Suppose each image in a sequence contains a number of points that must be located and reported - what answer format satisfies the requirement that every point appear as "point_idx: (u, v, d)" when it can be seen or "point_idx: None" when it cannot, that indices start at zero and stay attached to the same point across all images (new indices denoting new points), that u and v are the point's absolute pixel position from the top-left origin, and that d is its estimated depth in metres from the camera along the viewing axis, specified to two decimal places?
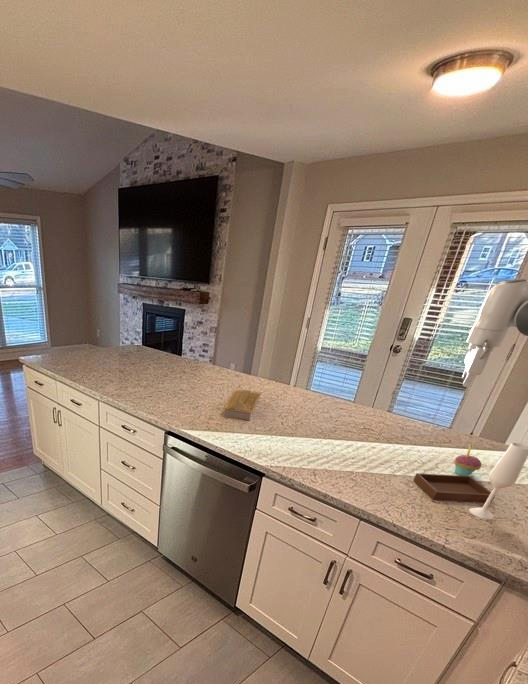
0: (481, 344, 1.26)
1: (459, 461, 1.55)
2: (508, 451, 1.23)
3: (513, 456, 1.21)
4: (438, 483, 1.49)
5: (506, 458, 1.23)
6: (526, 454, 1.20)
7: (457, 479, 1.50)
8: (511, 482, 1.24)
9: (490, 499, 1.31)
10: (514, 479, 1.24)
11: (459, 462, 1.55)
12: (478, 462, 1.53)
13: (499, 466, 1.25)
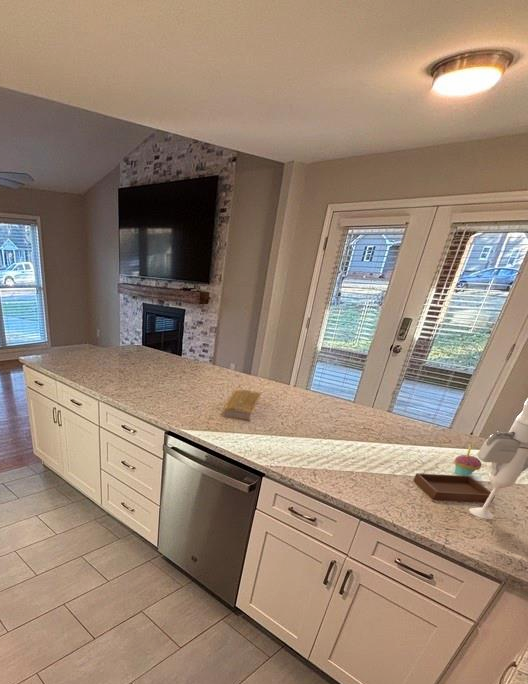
0: None
1: (459, 461, 1.55)
2: None
3: None
4: (438, 483, 1.49)
5: None
6: (526, 454, 1.20)
7: (457, 479, 1.50)
8: (511, 482, 1.24)
9: (490, 499, 1.31)
10: (514, 479, 1.24)
11: (459, 462, 1.55)
12: (478, 462, 1.53)
13: None
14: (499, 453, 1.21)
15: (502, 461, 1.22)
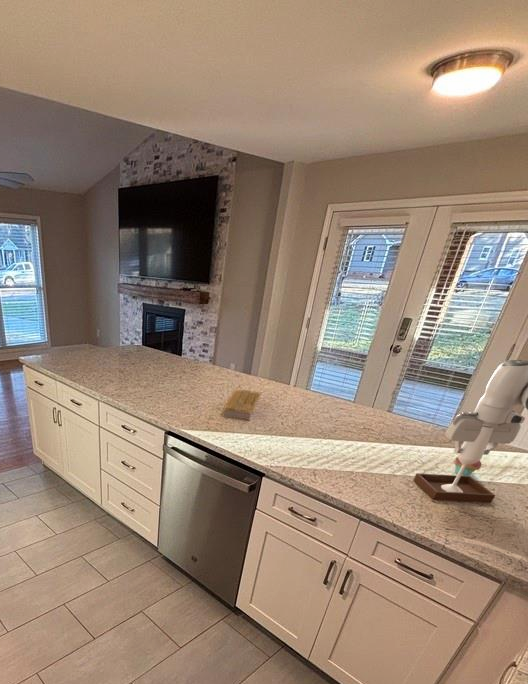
0: None
1: (459, 461, 1.55)
2: None
3: None
4: (438, 483, 1.49)
5: None
6: (489, 432, 1.31)
7: None
8: (477, 459, 1.36)
9: (459, 475, 1.42)
10: (479, 456, 1.35)
11: (459, 462, 1.55)
12: (478, 462, 1.53)
13: (465, 444, 1.36)
14: (464, 432, 1.32)
15: (467, 439, 1.34)
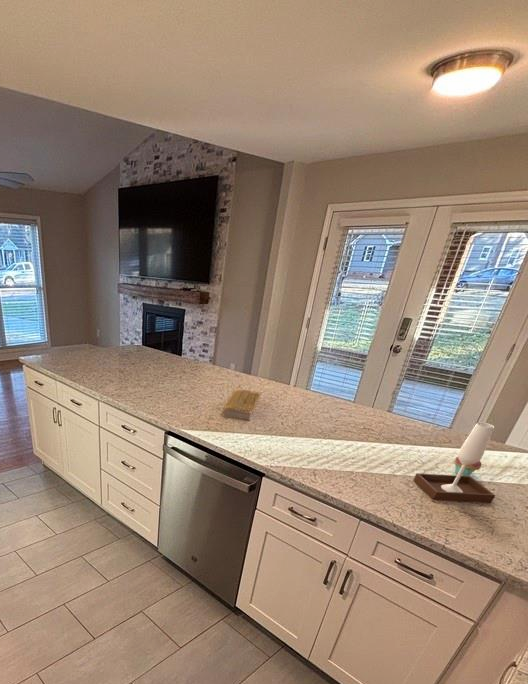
0: None
1: (459, 461, 1.55)
2: (474, 430, 1.34)
3: (478, 434, 1.33)
4: (438, 483, 1.49)
5: (472, 437, 1.34)
6: (489, 432, 1.31)
7: None
8: (477, 459, 1.35)
9: (459, 475, 1.42)
10: (479, 456, 1.35)
11: (459, 462, 1.55)
12: (478, 462, 1.53)
13: (466, 444, 1.36)
14: None
15: None
